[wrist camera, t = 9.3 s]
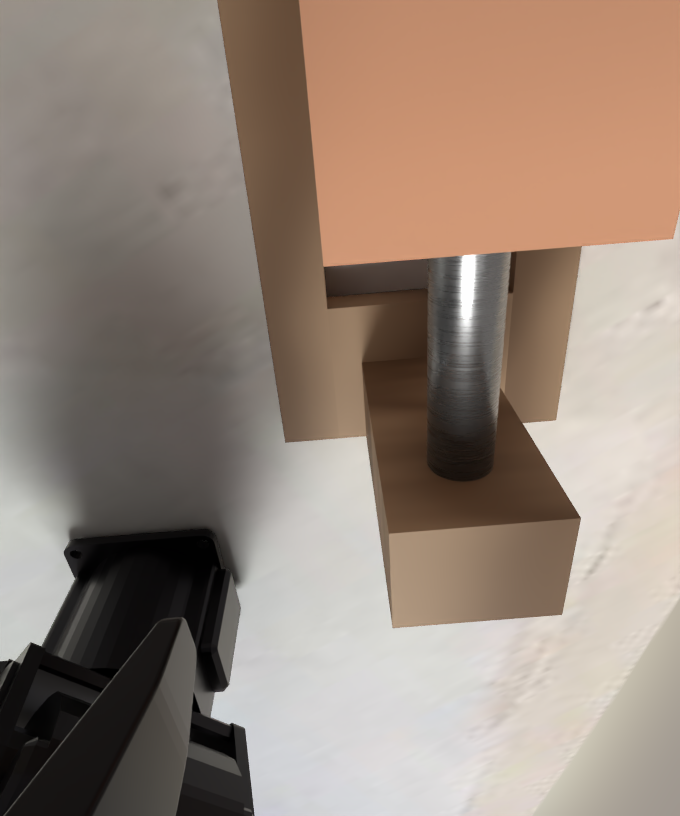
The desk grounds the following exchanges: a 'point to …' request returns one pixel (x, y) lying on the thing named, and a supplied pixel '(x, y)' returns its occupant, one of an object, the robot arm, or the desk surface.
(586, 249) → the desk surface
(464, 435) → the stand
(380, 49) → the clip
